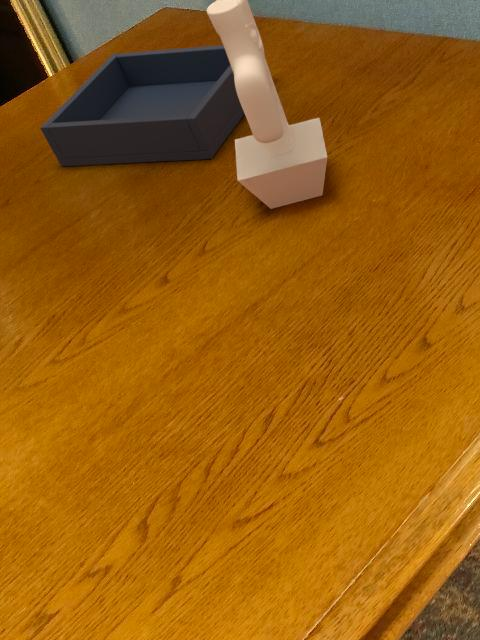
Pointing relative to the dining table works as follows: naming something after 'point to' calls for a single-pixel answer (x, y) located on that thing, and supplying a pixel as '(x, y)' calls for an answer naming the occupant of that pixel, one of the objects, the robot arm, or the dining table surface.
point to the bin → (148, 109)
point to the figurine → (267, 118)
